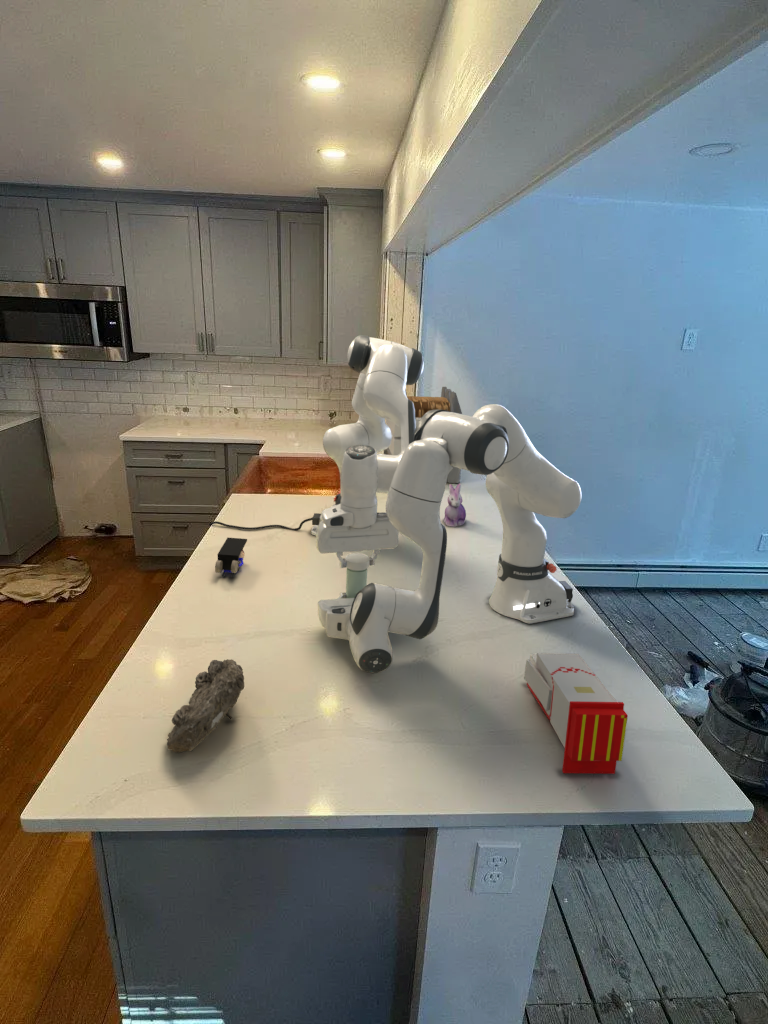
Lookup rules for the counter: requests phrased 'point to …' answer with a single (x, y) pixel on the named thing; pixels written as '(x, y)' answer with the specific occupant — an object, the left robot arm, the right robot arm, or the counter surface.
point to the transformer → (421, 407)
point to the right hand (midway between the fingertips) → (355, 594)
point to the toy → (578, 711)
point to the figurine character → (230, 556)
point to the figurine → (454, 508)
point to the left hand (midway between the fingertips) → (357, 565)
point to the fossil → (206, 705)
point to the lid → (357, 561)
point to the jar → (355, 582)
